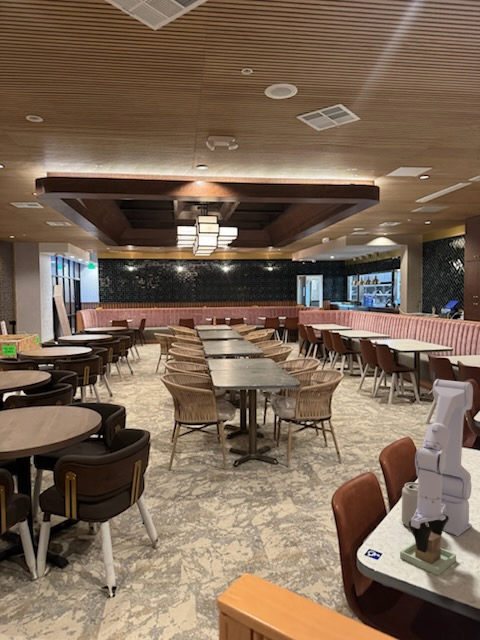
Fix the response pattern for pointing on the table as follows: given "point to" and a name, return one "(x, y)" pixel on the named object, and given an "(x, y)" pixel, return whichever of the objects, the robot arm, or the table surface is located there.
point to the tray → (435, 568)
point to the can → (409, 502)
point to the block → (431, 549)
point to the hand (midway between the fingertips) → (428, 546)
